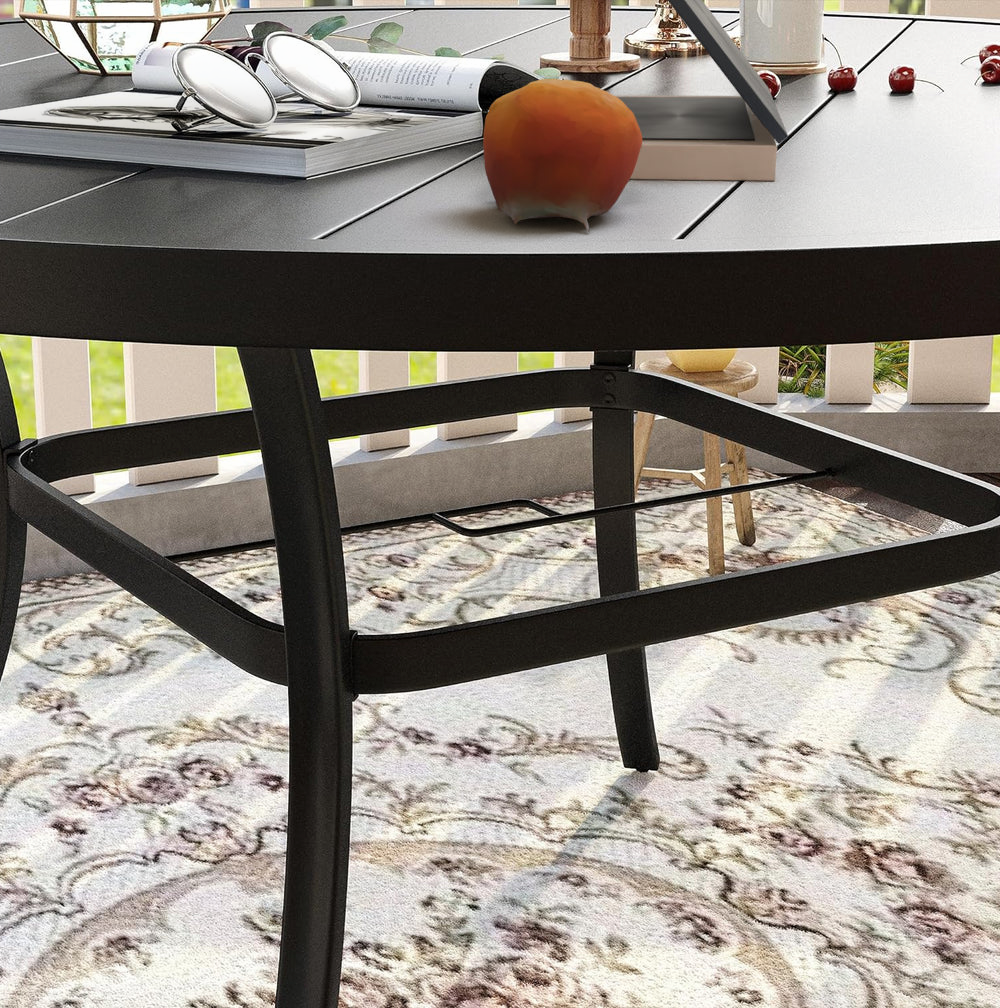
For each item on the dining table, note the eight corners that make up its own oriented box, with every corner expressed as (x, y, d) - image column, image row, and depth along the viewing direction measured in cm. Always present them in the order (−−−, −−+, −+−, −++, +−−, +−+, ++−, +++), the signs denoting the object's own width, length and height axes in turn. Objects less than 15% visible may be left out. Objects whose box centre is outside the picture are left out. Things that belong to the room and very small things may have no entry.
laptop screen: (612, -70, 77) (624, -80, 76) (628, -77, 97) (637, -85, 96) (777, 145, 80) (788, 136, 80) (759, 95, 100) (768, 88, 100)
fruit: (462, 210, 67) (474, 52, 68) (487, 261, 75) (498, 118, 76) (631, 214, 66) (641, 53, 67) (638, 265, 74) (647, 120, 75)
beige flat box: (517, 178, 83) (517, 142, 82) (550, 123, 103) (550, 93, 102) (775, 181, 81) (777, 143, 80) (758, 124, 101) (759, 94, 100)
